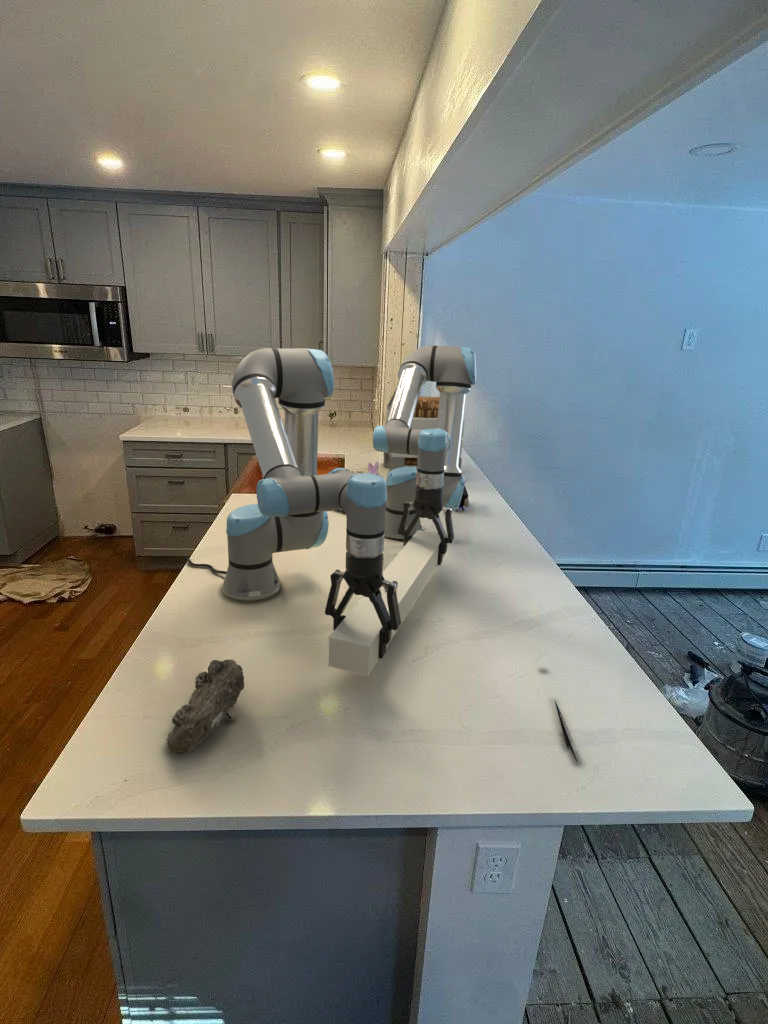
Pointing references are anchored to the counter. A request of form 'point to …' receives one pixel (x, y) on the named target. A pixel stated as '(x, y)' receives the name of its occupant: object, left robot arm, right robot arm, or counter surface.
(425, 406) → the transformer
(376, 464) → the figurine
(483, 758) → the counter surface
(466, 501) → the figurine character
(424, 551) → the wide beam
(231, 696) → the fossil
